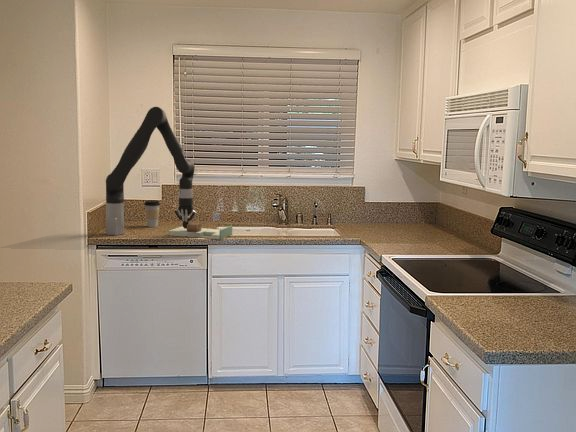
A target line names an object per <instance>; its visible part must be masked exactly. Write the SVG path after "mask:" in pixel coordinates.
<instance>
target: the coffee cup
mask: <svg viewBox="0 0 576 432" xmlns="http://www.w3.org/2000/svg"><path fill="white" fill-rule="evenodd" d="M143 206H144V207H145V218H146V225H147V228H157V227H158V226H159V225H158V224H159V218H160V206H161V203H160V200H145V202H144V203H143Z"/></svg>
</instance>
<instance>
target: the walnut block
mask: <svg viewBox="0 0 576 432" xmlns="http://www.w3.org/2000/svg"><path fill="white" fill-rule="evenodd" d="M201 228H202V223H199V222H196V223H195V222H191V223H189V224H187V231H188V232H189V231H190V232H198V231H201Z"/></svg>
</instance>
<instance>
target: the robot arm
mask: <svg viewBox="0 0 576 432" xmlns="http://www.w3.org/2000/svg"><path fill="white" fill-rule="evenodd" d="M156 129H157V130H158V132H160V134H161V136H162V138H163V140H164V142H165V145H166V148H167V149H168V151H169V153H170V155H171V156H172V159H173V162H174V164H175V167H176V169H177V171H178V172H179V173H181V174H182V175H181V177H180V178H179V181H178V183H179V184H178V186H179V188H178V208H177V210H175V211H174V213H175V215H176V216H177V218H178V220H179V221H182V226H183V227H184V228H187V224H190V223H189V222H190V221H192V220H193V219H194V218H195V216H196V215H197V214H198V212H197V211H195V210H194V207H193V203H194V198H193V197H194V195H193V192H194V191H193V179H194V175H195V164H194V162H193V161H192V160H190V159H186V157H185V154H186V152H185V149H184V147H183V146H182V144H181V143H180V140H178V137H177V136H176V135H175V133H174V131H173V129H172V128H171V124H170V123H169V120H168V117H167V114H166V112H165V110H164V109H162V108H161V107H159V106H153V107H150V108H149V109H148V111H147V113H146V114H145V116H144V119H143V121H142V123H141V125H140V126H139V128H138V129H137V131H136V132H135V133H134V135H133V136H132V138H131V139H130V141H129V142H128V144H127V145H126V147H125V149H124V151H123V153H122V154H121V157H120V159H119V161H118V163H117V165H116V166H115V167H114V168H113V170H112V171H111V172H110V173H109V174H108V175H107V176H106V178H105V209H106V210H105V213H106V214H105V215H106V216H105V235H107V236H108V235H109V236H119V235H124V234H125V210H124V209H125V206H124V205H125V202H124V201H125V198H124V197H125V193H124V188H125V187H124V185H125V184H124V183H125V182H126V179H127V177H128V176H129V173H130V172H131V170H132V169H134V167H135V166H136V165H137V163H138V162H139V161H140V159H141V158H142V156H143V154H144V153H145V151H146V149H147V148H148V145H149V144H150V143H149V142H150V139H151V136H152V134H153V132H154V131H155V130H156Z"/></svg>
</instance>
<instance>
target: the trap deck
mask: <svg viewBox="0 0 576 432" xmlns="http://www.w3.org/2000/svg"><path fill="white" fill-rule="evenodd" d="M168 236H175V237H185V236H188V237H187V238H197V237H202V238H201V239H209V238H211V237H212V238H213V239H212V240H223V239H225V238H224V237H226V238H228V237H231V236H233V225H229V226H226V227H224V228H222V229H214V228H205V227H204V228H203V227H201V231H198V232H190V231H189V232H188V231H187V228H184V227H183V225H182V226H179V227H176V228H173V229H170V230H168ZM227 236H228V237H227Z"/></svg>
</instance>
